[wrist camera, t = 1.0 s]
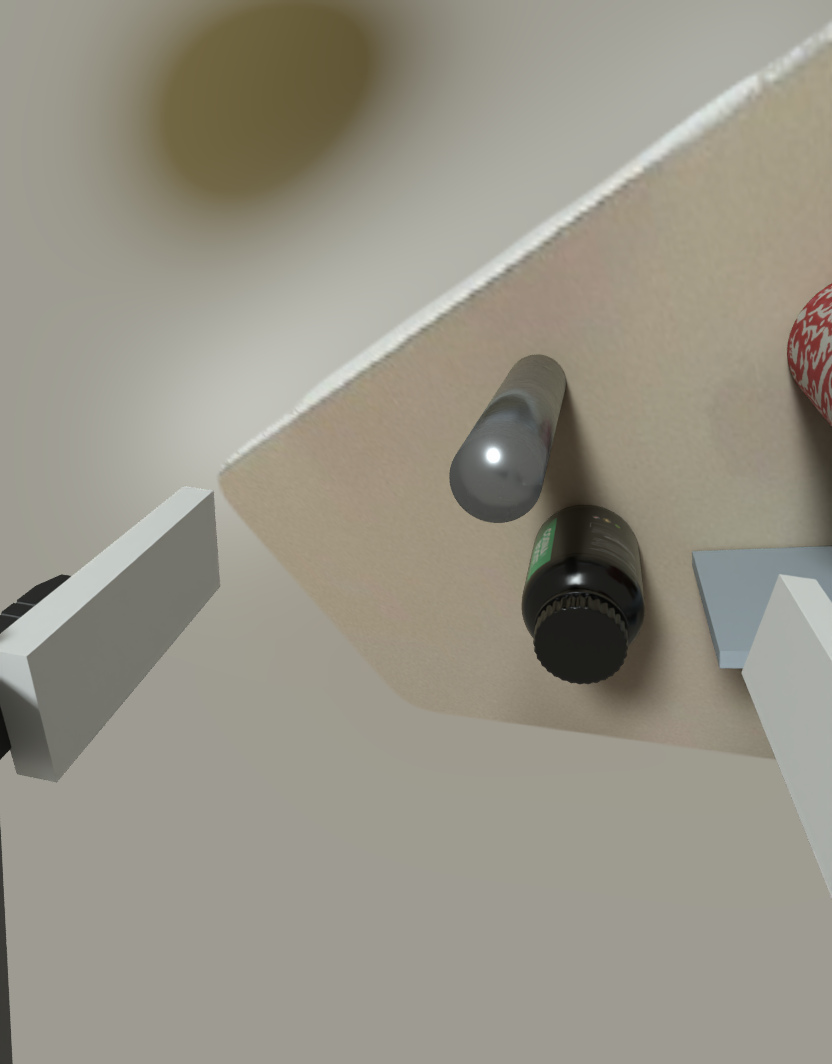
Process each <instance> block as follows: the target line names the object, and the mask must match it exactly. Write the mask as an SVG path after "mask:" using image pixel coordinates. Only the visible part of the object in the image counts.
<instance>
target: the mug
mask: <svg viewBox="0 0 832 1064" xmlns="http://www.w3.org/2000/svg"><path fill="white" fill-rule="evenodd" d="M787 356H788V364H789V367H790V370H791V373H792V375H793V377H794V379H795V382H796V383H797V384H798V386H799V387H800V388H801V390H802V391H803V392H804V393H805V395H806V396H807V397H808V398H809V399H810V400H811V402H812V403H813V405H814V406H815V407H816V408H817V410H818V411H819V412H820V413H821V414H822V416H823V417H824V418H825V419H826V420H827V421H828V423H829V424H830V425H831V426H832V284H830V285H828V286H827V287H825V288H824V289H823V290H821V291H820V292H819V293H818V294H816V295H815V296H814V297H813V298H812V299H811V300H810V301H809V302H808V303H807V305H806V306H805V307H804V308H803V310H802V311H801V312H800V314H799V316H798V318H797V319H796V321H795V323H794V325H793V327H792V330H791V333H790V336H789V340H788V347H787Z"/></svg>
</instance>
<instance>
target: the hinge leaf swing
mask: <svg viewBox="0 0 832 1064" xmlns="http://www.w3.org/2000/svg"><path fill="white" fill-rule="evenodd" d="M692 566H693V569H694V573H695V577H696V581H697V585H698V588H699V592H700V596H701V600H702V603H703V607H704V611H705V615H706V619H707V622H708V626H709V630H710V634H711V637H712V641H713V645H714V649H715V653H716V656H717V660H718V664H719V668H743V667H744V665H745V662H746V660H747V657H748V654H749V652H750V649H751V646H752V644H753V641H754V639H755V636H756V633H757V631H758V628H759V626H760V623H761V620H762V618H763V615H764V612H765V610H766V607H767V605H768V602H769V599H770V597H771V594H772V591H773V589H774V586H775V584H776V581H777V578H778V576H779V574H782V575H789V576H795V577H802V578H809V579H816V580H817V582H818V583H819V585H820V586H821V588H822V589H823V591H824V592H825V593H826V595H827V596H828V598H829V599H830V601H831V602H832V546H819V547H793V548H767V549H741V550H714V551H692Z"/></svg>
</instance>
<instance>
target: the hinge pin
mask: <svg viewBox="0 0 832 1064" xmlns="http://www.w3.org/2000/svg"><path fill="white" fill-rule="evenodd" d="M565 388H566V378H565V374H564V372H563V369H562V368H561V366H560V365H559V364H558V363H557V362H556V361H555V360H553V359H552V358H550V357H548V356H544V355H530V356H527V357H525V358H523V359H521V360H520V361H518V362H517V363H516V364H515V365H514V366H513V368H512V369H511V371H510V372H509V374H508V376H507V377H506V379H505V380H504V382H503V383H502V385H501V386H500V388H499V389H498V391H497V392H496V394H495V395H494V397H493V399H492V400H491V402H490V403H489V405H488V406H487V408H486V409H485V411H484V412H483V414H482V415H481V417H480V419H479V420H478V422H477V423H476V425H475V426H474V428H473V429H472V431H471V432H470V434H469V435H468V437H467V438H466V440H465V442H464V443H463V445H462V446H461V448H460V449H459V451H458V452H457V454H456V455H455V457H454V459H453V461H452V464H451V468H450V486H451V490H452V492H453V495H454V497H455V499H456V500H457V502H458V503H459V505H460V506H461V507H462V508H463V509H464V510H465V511H466V512H468V513H469V514H470V515H472V516H474V517H476V518H478V519H480V520H483V521H487V522H493V523H503V522H509V521H512V520H515V519H518V518H520V517H521V516H523V515H525V514H526V513H527V512H528V511H530V509H531V508H532V507H533V506H534V505H535V503H536V502H537V500H538V498H539V496H540V493H541V490H542V485H543V481H544V477H545V473H546V468H547V464H548V460H549V456H550V452H551V447H552V443H553V439H554V435H555V430H556V426H557V422H558V418H559V414H560V409H561V405H562V401H563V397H564V392H565Z"/></svg>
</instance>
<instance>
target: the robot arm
mask: <svg viewBox="0 0 832 1064" xmlns="http://www.w3.org/2000/svg"><path fill="white" fill-rule="evenodd" d="M219 587H220V578H219V564H218V549H217V535H216V521H215V506H214V492H213V490H206V489H200V488H193V487H186V486H183V487H182V488H181V489H180V490H178V491H177V492H176V493H175V494H173V495H172V496H171V497H170V498H168V499H167V500H166V501H165V502H163V503H162V504H161V505H160V506H158V507H157V508H156V509H155V510H153V511H152V512H151V513H150V514H149V515H147V516H146V517H145V518H143V519H142V520H141V521H140V522H139V523H137V524H136V525H135V526H134V527H132V528H131V529H130V530H129V531H127V532H126V533H125V534H124V535H122V536H121V537H120V538H119V539H117V540H116V541H115V542H114V543H112V544H111V545H110V546H109V547H107V548H106V549H105V550H104V551H102V552H101V553H100V554H99V555H98V556H96V557H95V558H94V559H93V560H91V561H90V562H89V563H88V564H86V565H85V566H84V567H83V568H81V569H80V570H79V571H78V572H76V573H75V574H74V575H73V576H68V575H59V576H57V577H55V578H53V579H50V580H48V581H46V582H43V583H41V584H39V585H36V586H35V587H34V588H32V589H31V590H30V591H29V592H27V593H26V594H25V595H23V596H22V597H21V598H19V599H18V600H17V603H13V604H11V605H10V606H9V607H7V608H6V609H5V610H4V611H2V613H1V615H0V759H1V758H2V757H3V756H4V755H5V754H6V753H7V752H8V751H9V750H10V751H11V754H12V758H13V762H14V765H15V769H16V772H17V774H19V775H24V776H29V777H34V778H39V779H43V780H48V781H53V782H57V781H58V780H59V779H60V778H61V777H62V775H63V774H64V773H65V772H66V771H67V770H68V768H69V767H70V766H71V765H72V764H73V762H74V761H75V760H76V759H77V758H78V756H79V755H80V754H81V753H82V752H83V750H84V749H85V748H86V747H87V746H88V744H89V743H90V742H91V741H92V740H93V738H94V737H95V736H96V735H97V734H98V732H99V731H100V730H101V729H102V728H103V726H104V725H105V724H106V723H107V721H108V720H109V719H110V718H111V717H112V716H113V714H114V713H115V712H116V711H117V710H118V708H119V707H120V706H121V705H122V704H123V702H124V701H125V700H126V699H127V698H128V696H129V695H130V694H131V693H132V692H133V690H134V689H135V688H136V687H137V686H138V684H139V683H140V682H141V681H142V680H143V678H144V677H145V676H146V675H147V674H148V672H149V671H150V670H151V669H152V667H153V666H154V665H155V664H156V663H157V662H158V660H159V659H160V658H161V657H162V655H163V654H164V653H165V652H166V651H167V649H168V648H169V647H170V646H171V645H172V644H173V642H174V641H175V640H176V639H177V638H178V636H179V635H180V634H181V633H182V632H183V630H184V629H185V628H186V627H187V626H188V624H189V623H190V622H191V621H192V620H193V618H194V617H195V616H196V615H197V614H198V612H199V611H200V610H201V609H202V608H203V606H204V605H205V604H206V603H207V602H208V600H209V599H210V598H211V597H212V596H213V594H214V593H215V592H216V591H217V589H218V588H219ZM742 676H743V678H744V681H745V683H746V686H747V688H748V691H749V693H750V696H751V698H752V701H753V703H754V706H755V708H756V711H757V713H758V716H759V718H760V721H761V723H762V726H763V728H764V731H765V733H766V735H767V738H768V740H769V743H770V745H771V748H772V750H773V753H774V755H775V758H776V760H777V763H778V765H779V768H780V770H781V773H782V775H783V778H784V780H785V783H786V785H787V787H788V790H789V792H790V795H791V798H792V800H793V803H794V805H795V808H796V810H797V812H798V815H799V818H800V820H801V823H802V825H803V828H804V830H805V832H806V835H807V837H808V840H809V843H810V845H811V848H812V850H813V853H814V855H815V858H816V860H817V862H818V865H819V868H820V870H821V873H822V875H823V877H824V880H825V883H826V885H827V888H828V890H829V892H830V895H831V898H832V602H831V601H830V599H829V598H828V596H827V595H826V593H825V592H824V591H823V589H822V588H821V586H820V585H819V583H818V582H817V580H816V579H809V578H802V577H795V576H789V575H782V574H779V576H778V578H777V581H776V584H775V586H774V589H773V591H772V594H771V597H770V599H769V602H768V605H767V607H766V610H765V612H764V615H763V618H762V620H761V623H760V626H759V628H758V631H757V633H756V636H755V639H754V641H753V644H752V646H751V649H750V652H749V654H748V657H747V660H746V662H745V665H744V667H743V670H742ZM0 1064H12V1046H11V1026H10V1006H9V987H8V966H7V947H6V928H5V908H4V888H3V868H2V849H1V830H0Z"/></svg>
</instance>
